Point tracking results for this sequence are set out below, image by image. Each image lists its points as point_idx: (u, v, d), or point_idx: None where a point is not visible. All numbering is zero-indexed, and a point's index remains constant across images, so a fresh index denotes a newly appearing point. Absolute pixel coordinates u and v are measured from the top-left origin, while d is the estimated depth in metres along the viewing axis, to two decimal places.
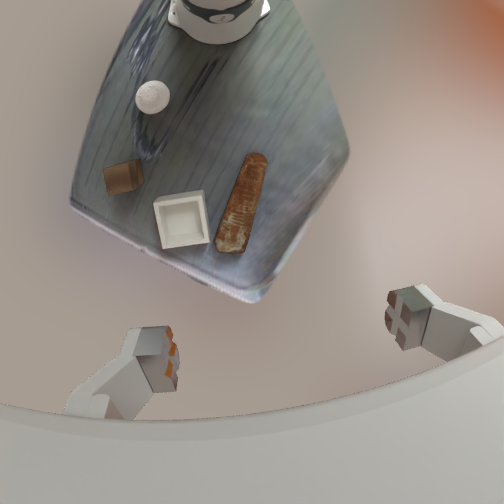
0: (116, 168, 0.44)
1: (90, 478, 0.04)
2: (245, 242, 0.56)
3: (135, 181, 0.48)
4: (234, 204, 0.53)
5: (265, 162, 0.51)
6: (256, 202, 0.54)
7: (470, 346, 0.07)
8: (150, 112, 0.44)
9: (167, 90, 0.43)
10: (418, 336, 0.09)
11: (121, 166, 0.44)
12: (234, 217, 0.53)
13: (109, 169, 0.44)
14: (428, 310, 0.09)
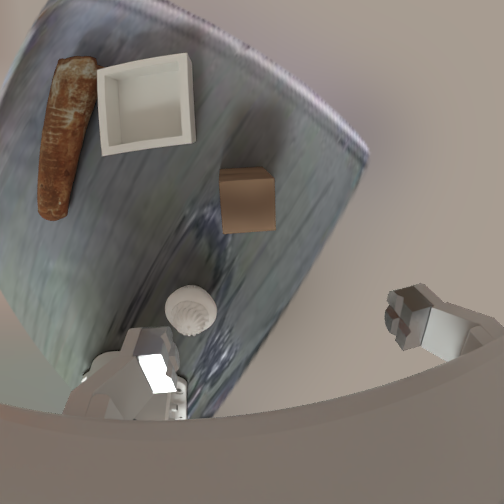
0: (247, 228, 0.26)
1: (90, 478, 0.04)
2: None
3: None
4: (66, 142, 0.24)
5: (38, 210, 0.28)
6: (40, 147, 0.25)
7: (470, 346, 0.07)
8: (191, 293, 0.32)
9: (167, 318, 0.34)
10: (418, 336, 0.09)
11: (236, 230, 0.26)
12: (62, 121, 0.23)
13: (262, 228, 0.26)
14: (428, 310, 0.09)
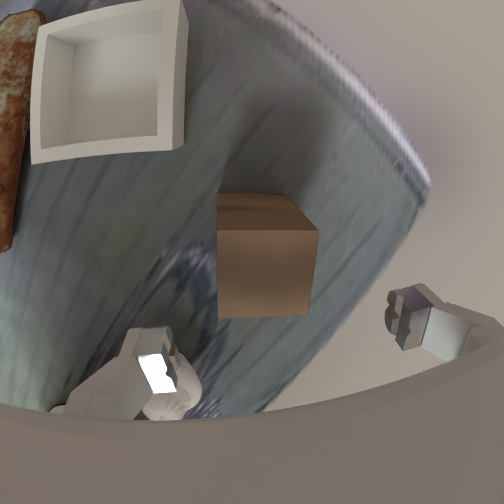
0: (260, 311, 0.15)
1: (90, 478, 0.04)
2: None
3: None
4: None
5: None
6: None
7: (470, 346, 0.07)
8: None
9: None
10: (418, 336, 0.09)
11: (241, 314, 0.15)
12: None
13: (285, 312, 0.15)
14: (428, 310, 0.09)
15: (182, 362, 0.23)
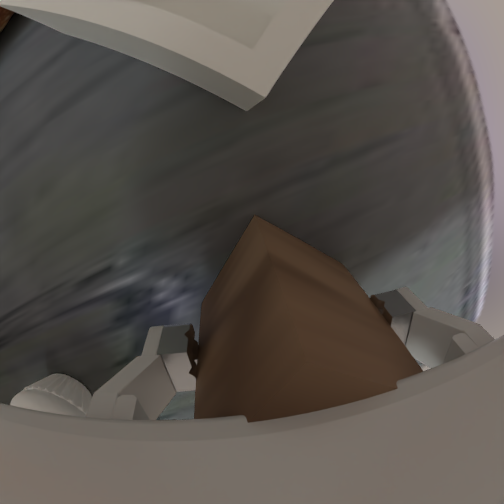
0: None
1: (90, 478, 0.04)
2: None
3: (254, 321, 0.07)
4: None
5: None
6: None
7: (452, 354, 0.07)
8: None
9: None
10: None
11: None
12: None
13: None
14: (410, 315, 0.09)
15: (86, 412, 0.13)
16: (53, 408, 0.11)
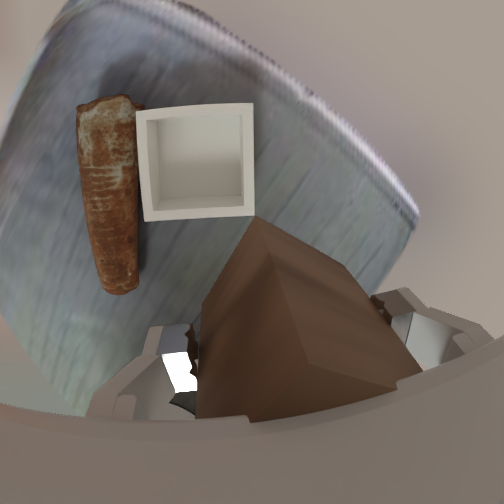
0: None
1: (90, 478, 0.04)
2: (77, 131, 0.20)
3: (255, 322, 0.07)
4: (120, 205, 0.23)
5: (103, 287, 0.27)
6: (86, 217, 0.24)
7: (452, 354, 0.07)
8: None
9: None
10: None
11: None
12: (109, 181, 0.22)
13: None
14: (410, 315, 0.09)
15: None
16: None
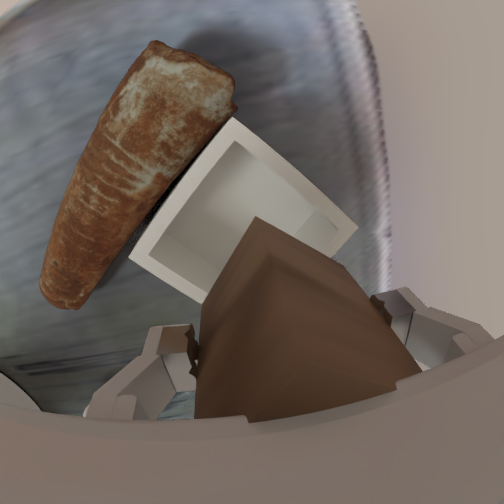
0: None
1: (90, 478, 0.04)
2: (129, 75, 0.12)
3: (254, 322, 0.07)
4: (121, 219, 0.15)
5: (40, 287, 0.17)
6: (65, 197, 0.15)
7: (452, 354, 0.07)
8: None
9: None
10: None
11: None
12: (127, 181, 0.14)
13: None
14: (410, 315, 0.09)
15: None
16: None
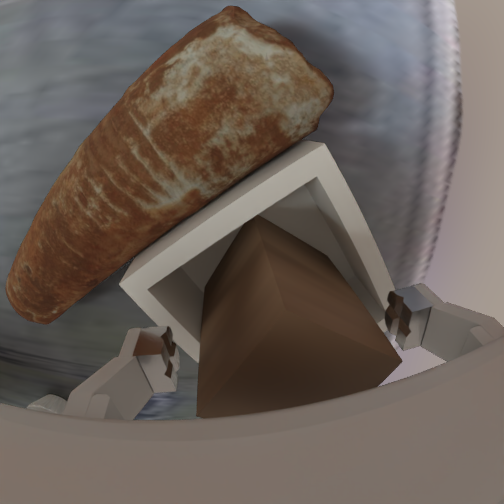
0: None
1: (90, 478, 0.04)
2: (187, 40, 0.08)
3: (249, 290, 0.09)
4: (126, 239, 0.11)
5: (6, 288, 0.12)
6: (55, 186, 0.10)
7: (470, 346, 0.07)
8: None
9: None
10: (418, 336, 0.09)
11: None
12: (148, 191, 0.10)
13: None
14: (428, 310, 0.09)
15: None
16: None
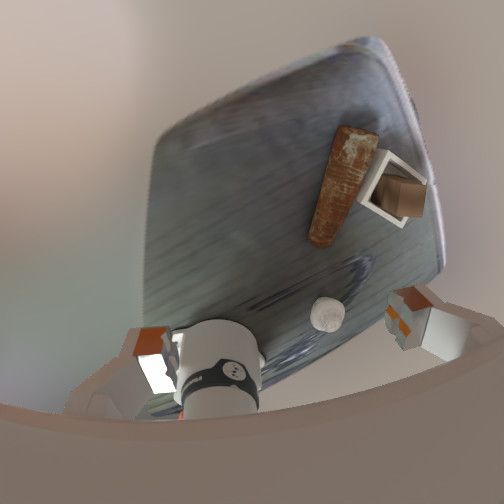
0: (409, 214, 0.37)
1: (90, 478, 0.04)
2: (343, 141, 0.37)
3: (390, 187, 0.38)
4: (354, 193, 0.40)
5: (313, 240, 0.44)
6: (326, 193, 0.40)
7: (470, 346, 0.07)
8: (340, 305, 0.47)
9: (313, 314, 0.48)
10: (418, 336, 0.09)
11: (403, 215, 0.37)
12: (356, 178, 0.39)
13: (416, 215, 0.37)
14: (428, 310, 0.09)
15: None
16: (337, 301, 0.48)
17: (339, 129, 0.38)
